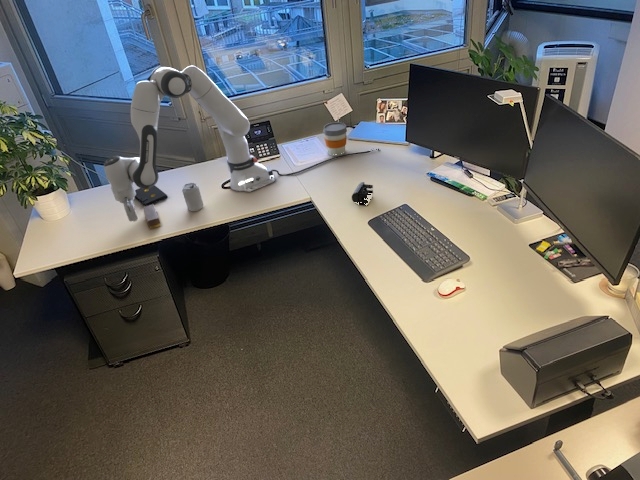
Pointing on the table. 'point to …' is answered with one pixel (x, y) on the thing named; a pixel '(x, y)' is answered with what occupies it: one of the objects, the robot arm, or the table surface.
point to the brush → (151, 216)
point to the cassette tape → (150, 195)
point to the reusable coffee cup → (335, 138)
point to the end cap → (362, 193)
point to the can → (192, 196)
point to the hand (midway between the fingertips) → (134, 219)
